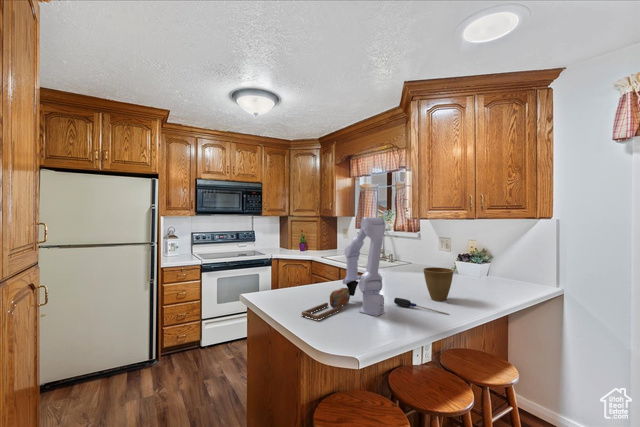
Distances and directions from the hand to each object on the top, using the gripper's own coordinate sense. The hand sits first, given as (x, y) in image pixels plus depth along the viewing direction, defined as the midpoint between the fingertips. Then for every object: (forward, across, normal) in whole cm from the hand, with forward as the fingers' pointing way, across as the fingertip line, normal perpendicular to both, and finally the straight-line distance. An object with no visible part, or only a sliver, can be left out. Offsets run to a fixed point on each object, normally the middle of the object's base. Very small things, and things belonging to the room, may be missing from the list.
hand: (351, 295), depth 156 cm
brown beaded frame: (+3, +24, 0) cm, 25 cm away
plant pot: (+3, -32, +34) cm, 47 cm away
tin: (+3, +11, 0) cm, 11 cm away
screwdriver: (+3, -9, +33) cm, 34 cm away
